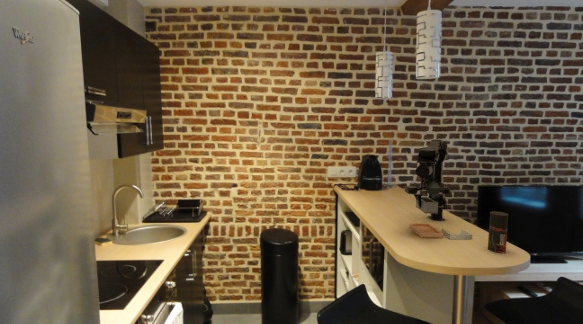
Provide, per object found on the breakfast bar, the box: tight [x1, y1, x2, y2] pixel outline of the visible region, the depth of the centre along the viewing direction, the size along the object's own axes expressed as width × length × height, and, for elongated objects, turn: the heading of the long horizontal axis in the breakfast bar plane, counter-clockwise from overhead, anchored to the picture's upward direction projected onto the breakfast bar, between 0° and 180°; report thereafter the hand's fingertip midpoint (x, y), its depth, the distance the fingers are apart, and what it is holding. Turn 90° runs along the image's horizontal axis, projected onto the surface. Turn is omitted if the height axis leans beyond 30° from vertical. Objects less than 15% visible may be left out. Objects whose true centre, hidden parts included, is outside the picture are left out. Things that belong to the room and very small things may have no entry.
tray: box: [408, 222, 444, 239], centre depth 136 cm, size 15×9×2 cm, turn 177°
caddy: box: [415, 196, 438, 215], centre depth 135 cm, size 11×5×5 cm, turn 177°
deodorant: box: [487, 210, 509, 254], centre depth 115 cm, size 6×6×15 cm
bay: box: [440, 228, 473, 240], centre depth 131 cm, size 8×10×2 cm
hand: (426, 208), depth 135 cm, fingers closed on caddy, 5 cm apart
